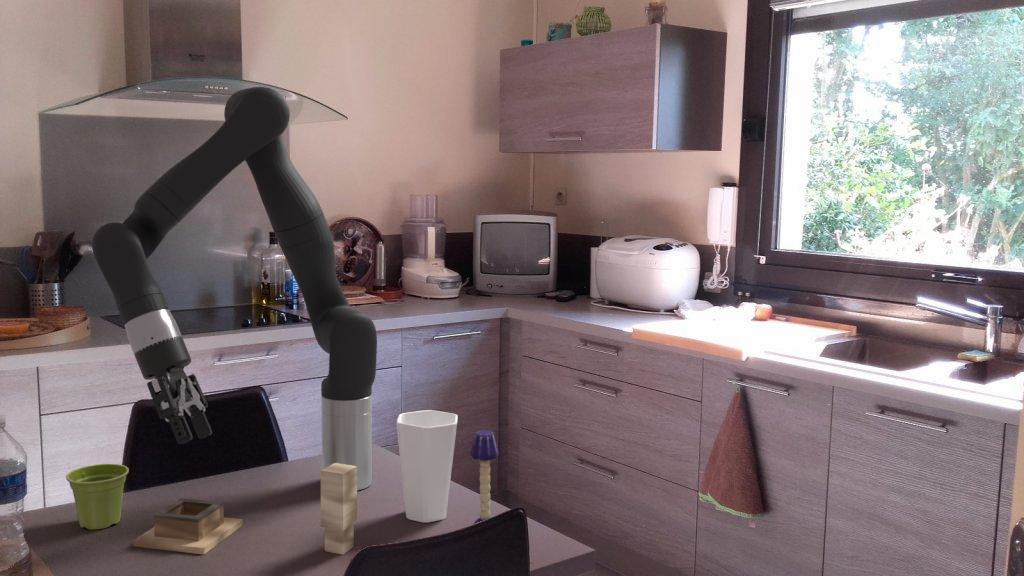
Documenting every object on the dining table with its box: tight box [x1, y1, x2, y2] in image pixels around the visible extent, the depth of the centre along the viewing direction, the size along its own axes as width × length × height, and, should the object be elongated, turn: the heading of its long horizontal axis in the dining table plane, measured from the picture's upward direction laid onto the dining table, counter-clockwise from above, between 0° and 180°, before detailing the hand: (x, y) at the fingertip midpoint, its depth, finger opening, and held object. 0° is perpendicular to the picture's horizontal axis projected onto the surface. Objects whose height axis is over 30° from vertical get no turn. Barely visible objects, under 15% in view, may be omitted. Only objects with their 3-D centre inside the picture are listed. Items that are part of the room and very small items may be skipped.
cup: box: [395, 409, 459, 523], centre depth 154 cm, size 11×10×17 cm
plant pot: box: [65, 463, 130, 530], centre depth 148 cm, size 9×9×9 cm
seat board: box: [132, 497, 244, 555], centre depth 144 cm, size 12×12×4 cm
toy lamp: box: [469, 429, 499, 524], centre depth 148 cm, size 5×5×17 cm
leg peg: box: [320, 463, 358, 555], centre depth 140 cm, size 4×4×13 cm
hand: (196, 439), depth 141 cm, fingers open, 8 cm apart
